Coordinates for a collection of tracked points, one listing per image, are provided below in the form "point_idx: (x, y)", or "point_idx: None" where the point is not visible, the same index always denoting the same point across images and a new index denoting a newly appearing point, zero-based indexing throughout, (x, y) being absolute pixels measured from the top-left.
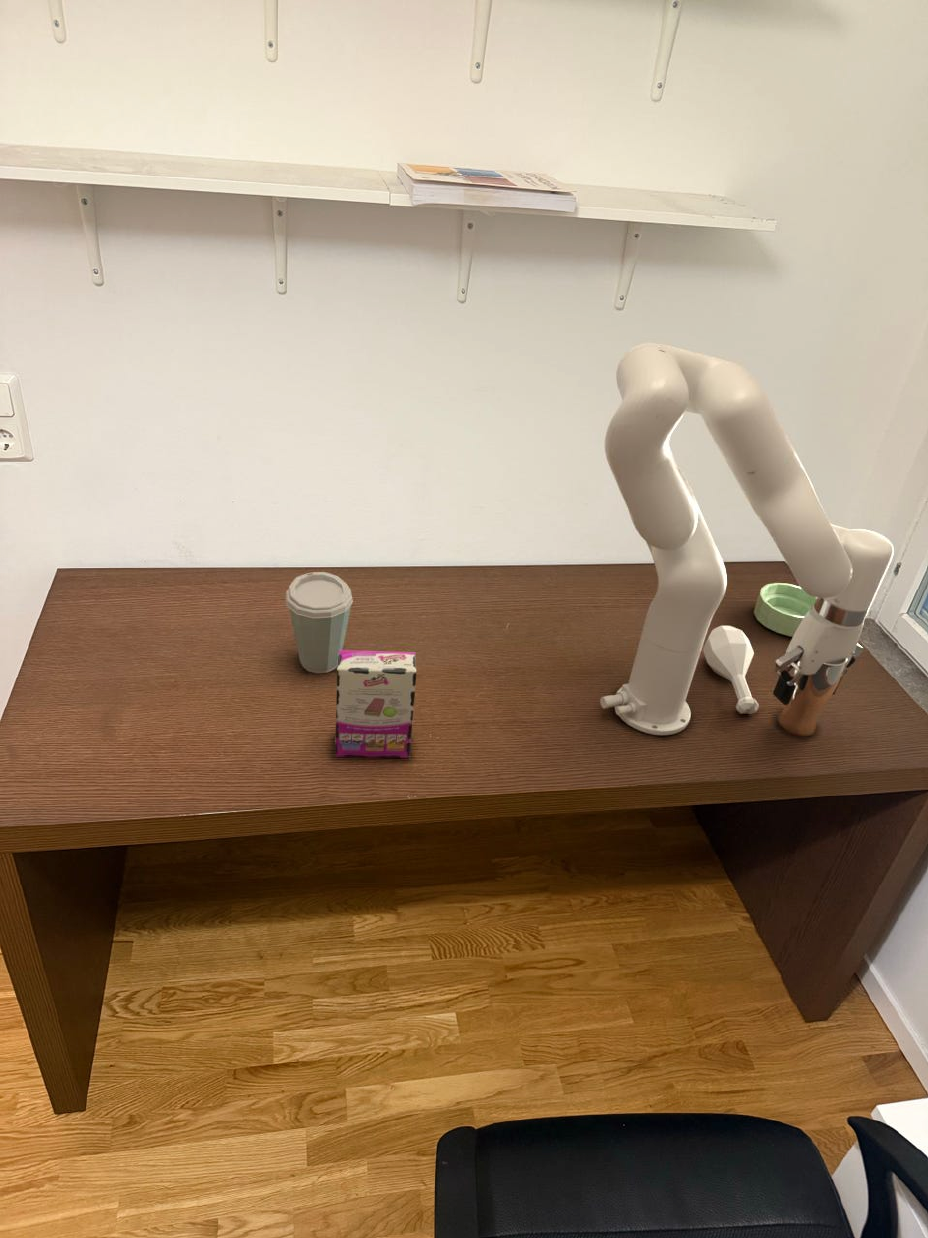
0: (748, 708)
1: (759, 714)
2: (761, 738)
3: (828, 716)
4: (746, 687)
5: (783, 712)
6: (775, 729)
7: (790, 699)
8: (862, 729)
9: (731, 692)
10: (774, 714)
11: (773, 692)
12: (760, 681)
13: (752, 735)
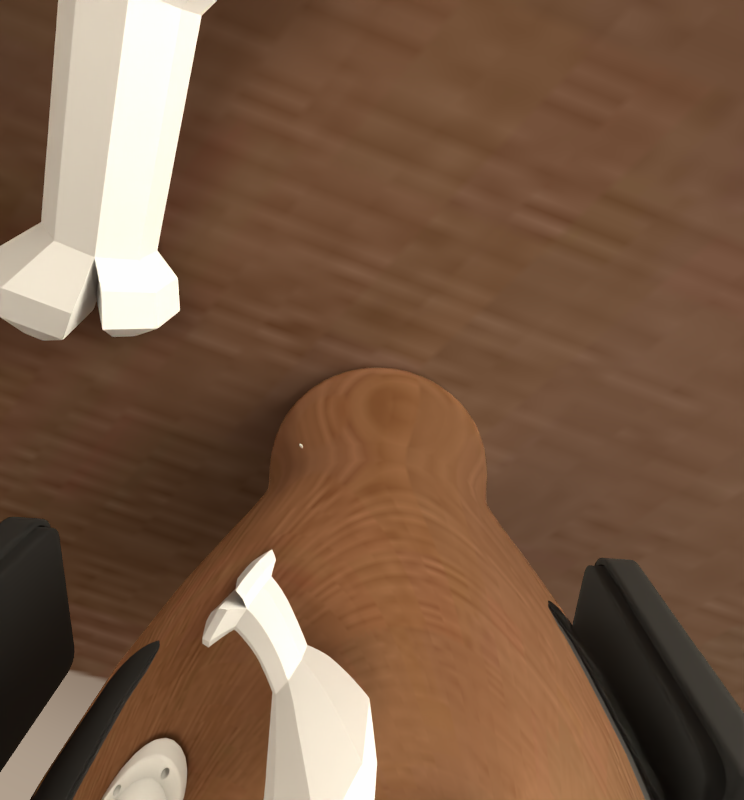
0: (39, 336)
1: (218, 316)
2: (97, 478)
3: (628, 483)
4: (99, 159)
5: (286, 441)
6: (226, 453)
7: (42, 707)
8: (709, 620)
9: None
10: (315, 351)
11: (8, 521)
12: (490, 3)
13: (59, 443)
